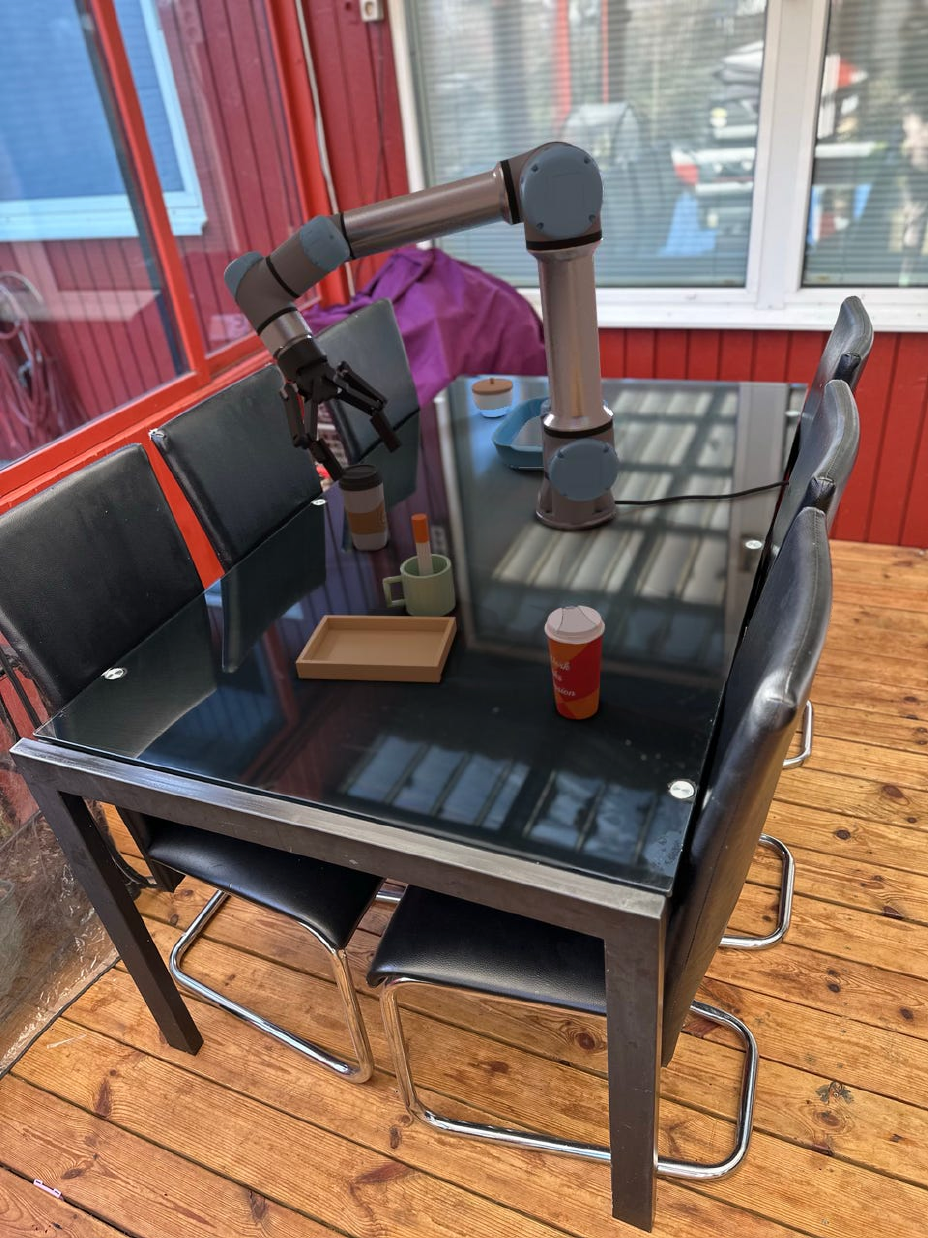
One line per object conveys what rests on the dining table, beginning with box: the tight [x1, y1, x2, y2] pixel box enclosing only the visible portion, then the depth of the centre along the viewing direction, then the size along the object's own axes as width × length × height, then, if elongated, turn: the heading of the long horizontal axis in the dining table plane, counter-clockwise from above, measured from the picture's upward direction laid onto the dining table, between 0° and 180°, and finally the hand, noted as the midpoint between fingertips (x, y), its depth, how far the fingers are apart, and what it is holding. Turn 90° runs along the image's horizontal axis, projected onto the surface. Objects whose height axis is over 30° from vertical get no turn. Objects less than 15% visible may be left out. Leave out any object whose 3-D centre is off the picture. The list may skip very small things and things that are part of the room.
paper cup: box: [544, 605, 606, 720], centre depth 116 cm, size 8×8×14 cm
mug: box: [382, 553, 457, 617], centre depth 144 cm, size 11×8×8 cm
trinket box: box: [470, 377, 514, 410], centre depth 227 cm, size 11×11×9 cm
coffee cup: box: [337, 463, 388, 551], centre depth 166 cm, size 8×8×15 cm
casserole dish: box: [491, 395, 609, 472], centre depth 202 cm, size 37×22×7 cm, turn 162°
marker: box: [411, 513, 434, 576], centre depth 142 cm, size 2×2×16 cm
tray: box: [295, 614, 458, 683], centre depth 135 cm, size 22×14×3 cm, turn 80°
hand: (369, 463), depth 142 cm, fingers open, 13 cm apart
